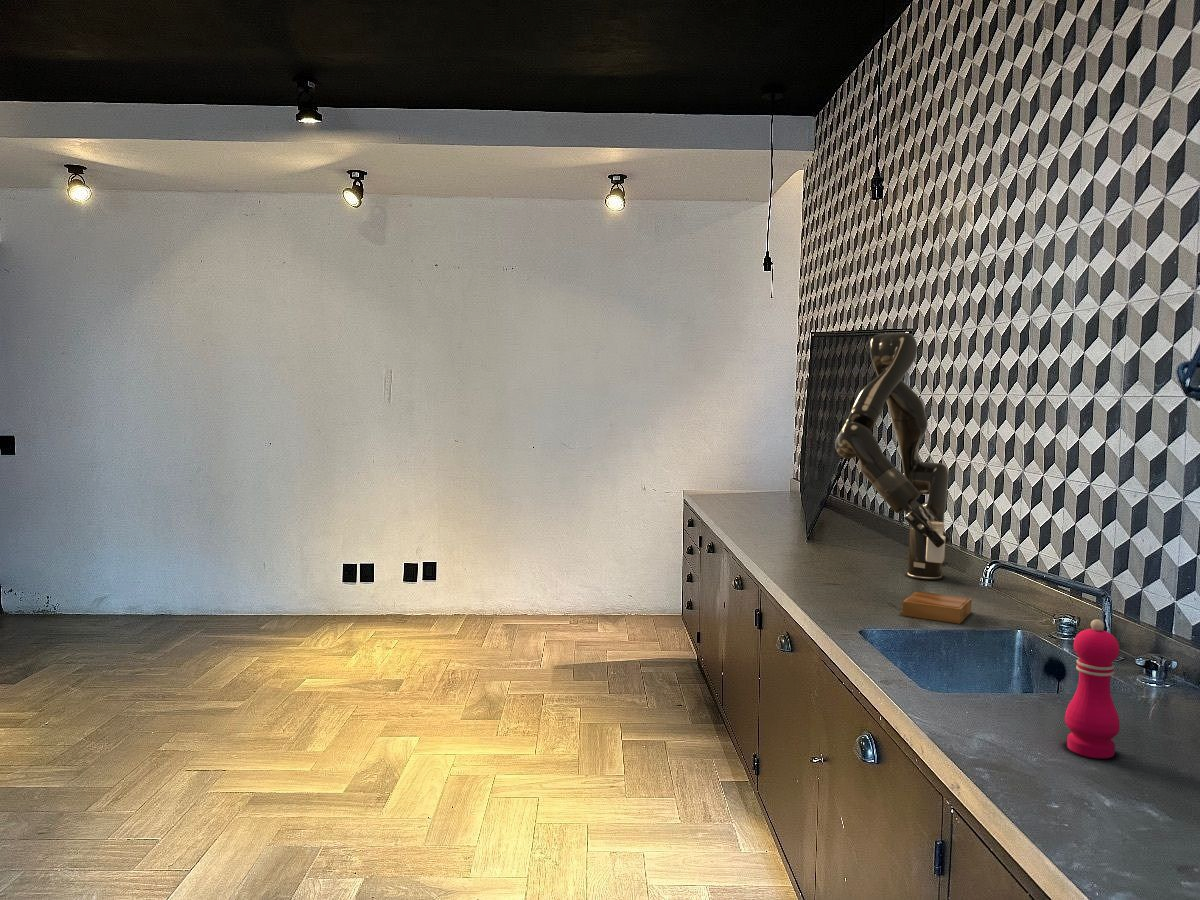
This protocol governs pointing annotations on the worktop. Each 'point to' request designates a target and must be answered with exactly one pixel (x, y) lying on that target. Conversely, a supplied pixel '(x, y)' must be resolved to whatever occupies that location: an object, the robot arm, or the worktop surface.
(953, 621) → the riser
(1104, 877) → the worktop surface
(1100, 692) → the pepper mill
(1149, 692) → the worktop surface
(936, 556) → the pepper shaker
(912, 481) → the robot arm
